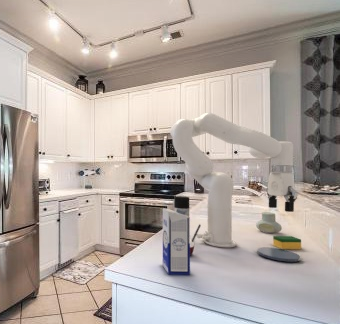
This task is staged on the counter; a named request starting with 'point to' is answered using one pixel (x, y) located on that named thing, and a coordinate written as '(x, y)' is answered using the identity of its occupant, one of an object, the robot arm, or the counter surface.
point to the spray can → (182, 204)
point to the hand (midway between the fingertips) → (280, 209)
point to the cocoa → (193, 241)
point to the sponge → (287, 242)
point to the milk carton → (176, 242)
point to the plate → (278, 254)
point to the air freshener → (268, 223)
